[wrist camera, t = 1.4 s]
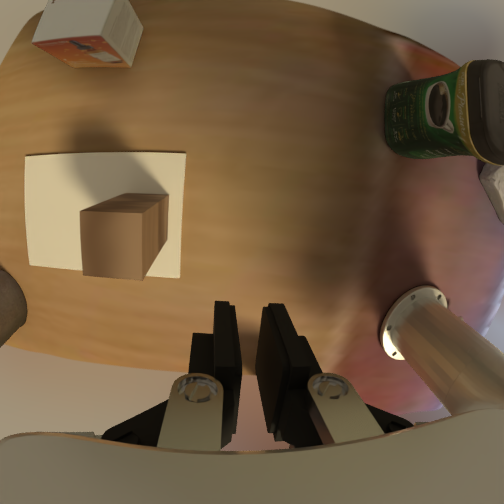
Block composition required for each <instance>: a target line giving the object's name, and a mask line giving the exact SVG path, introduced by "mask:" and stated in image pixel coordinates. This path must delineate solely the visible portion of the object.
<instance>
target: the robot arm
mask: <svg viewBox="0 0 504 504" xmlns="http://www.w3.org/2000/svg"><path fill="white" fill-rule="evenodd" d="M380 342H381V346H382V348H383V350H384V351H385V352H386V353H387V355H388V356H390V357H391V358H393V359H396V360H406V361H407V362H408V363H409V365H410V366H411V367H412V368H413V369H414V371H415V372H416V373H417V374H418V375H419V376H420V378H421V379H422V380H423V381H424V382H425V384H426V385H427V386H428V387H429V388H430V390H431V391H432V392H433V393H434V395H435V396H436V397H437V398H438V399H439V401H440V402H441V403H442V404H443V406H444V407H445V408H446V409H447V410H448V412H449V413H450V414H451V415H452V416H449V417H446V418H442V419H439V420H435V421H432V422H415V424H414V425H413V424H412V423H410V422H409V421H407V420H406V419H404V418H401V417H398V416H396V415H393V414H391V413H388V412H385V411H383V410H380V409H378V408H375V407H373V406H371V405H368V404H366V403H364V402H363V400H362V399H361V397H360V396H359V395H358V393H357V392H356V390H355V389H354V387H353V386H352V384H351V383H350V382H349V381H348V380H347V379H346V378H344V377H342V376H340V375H337V374H333V373H323V372H322V370H321V368H320V366H319V364H318V362H317V360H316V358H315V356H314V354H313V352H312V349H311V347H310V345H309V343H308V341H307V339H306V337H305V336H298V335H297V332H296V330H295V328H294V326H293V323H292V321H291V319H290V317H289V314H288V312H287V310H286V308H285V306H284V304H279V303H269V304H268V307H263V310H262V318H261V326H260V334H259V341H258V349H257V356H256V365H255V368H256V375H257V380H258V386H259V391H260V396H261V401H262V406H263V411H264V416H265V421H266V426H267V431H268V433H273V435H274V440H275V441H285V442H287V443H289V444H290V445H289V449H279V450H261V451H220V450H221V449H222V448H223V447H224V446H226V445H227V444H228V443H229V442H231V438H232V434H235V433H236V426H237V416H238V407H239V398H240V388H241V380H242V358H241V351H240V343H239V335H238V328H237V320H236V312H235V306H234V305H230V304H229V301H215V306H214V326H213V334H206V333H193V336H192V345H191V354H190V363H189V372H188V374H185V375H183V376H181V377H179V378H178V379H177V380H175V381H174V383H173V385H172V389H171V392H170V396H169V399H168V400H166V401H164V402H162V403H160V404H158V405H156V406H154V407H153V408H151V409H149V410H146V411H144V412H143V413H141V414H138V415H136V416H135V417H133V418H130V419H128V420H126V421H124V422H122V423H120V424H118V425H116V426H114V427H112V428H110V429H108V430H107V431H105V433H104V434H103V435H95V434H94V432H30V433H19V434H14V435H10V436H8V437H5V438H4V439H2V440H0V504H504V354H503V353H502V352H501V351H500V350H499V349H498V348H496V347H495V346H494V345H493V344H491V343H490V342H489V341H488V340H487V339H485V338H484V337H483V336H482V335H480V334H479V333H478V332H477V331H475V330H474V329H473V328H471V327H470V326H469V325H468V324H466V323H465V322H464V321H463V318H462V317H461V316H459V317H457V316H456V315H455V314H453V313H452V312H451V311H449V310H448V309H447V301H446V298H445V296H444V294H443V293H442V292H441V291H440V290H438V289H437V288H435V287H433V286H429V285H423V286H418V287H415V288H413V289H411V290H409V291H408V292H406V293H405V294H403V295H402V296H401V297H400V298H399V299H398V300H397V301H396V302H395V303H394V304H393V305H392V307H391V308H390V310H389V311H388V313H387V315H386V317H385V318H384V321H383V324H382V326H381V332H380Z"/></svg>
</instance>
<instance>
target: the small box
mask: <svg viewBox="0 0 504 504" xmlns="http://www.w3.org/2000/svg"><path fill="white" fill-rule="evenodd" d="M142 31H143V26H142V24H141V23H140V21H139V19H138V17H137V15H136V13H135V11H134V10H133V8H132V6H131V4H130V2H129V0H49V1H48V3H47V5H46V7H45V10H44V12H43V14H42V17H41V19H40V21H39V24H38V26H37V29H36V31H35V34H34V37H33V40H32V44H34V45H35V46H37V47H39V48H41V49H42V50H44V51H46V52H48V53H49V54H51V55H53V56H54V57H56V58H58V59H59V60H61V61H63V62H64V63H66V64H68V65H69V66H71V67H72V68H83V67H121V68H131V67H132V63H133V60H134V57H135V53H136V50H137V47H138V44H139V41H140V38H141V35H142Z"/></svg>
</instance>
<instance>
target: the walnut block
mask: <svg viewBox="0 0 504 504" xmlns="http://www.w3.org/2000/svg"><path fill="white" fill-rule="evenodd" d="M168 210H169V195H167V194H144V193H124V194H121V195H119V196H116V197H113V198H111V199H108V200H106V201H103V202H101V203H98V204H96V205H93V206H91V207H88V208H86V209H83V210H81V211H80V241H81V257H82V269H83V275H85V276H95V277H106V278H117V279H128V280H140V281H143V279H144V277H145V276H146V274H147V272H148V271H149V269H150V267H151V266H152V264H153V262H154V261H155V259H156V257H157V256H158V254H159V252H160V251H161V249H162V248H163V246H164V244H165V243H166V241H167V238H168Z"/></svg>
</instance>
